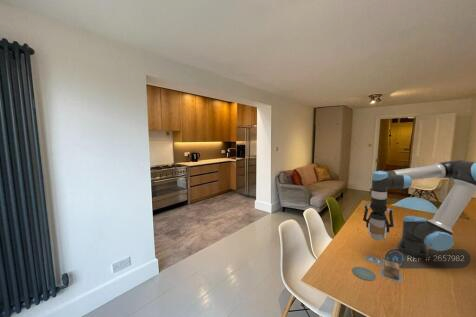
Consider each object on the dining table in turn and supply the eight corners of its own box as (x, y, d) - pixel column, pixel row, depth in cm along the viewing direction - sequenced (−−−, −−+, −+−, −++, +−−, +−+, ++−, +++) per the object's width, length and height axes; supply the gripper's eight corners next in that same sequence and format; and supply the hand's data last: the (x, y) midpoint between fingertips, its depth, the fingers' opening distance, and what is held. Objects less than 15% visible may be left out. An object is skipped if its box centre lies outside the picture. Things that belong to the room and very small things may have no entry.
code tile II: (402, 275, 110) (402, 274, 110) (400, 283, 103) (400, 283, 103) (382, 267, 116) (382, 267, 116) (379, 275, 109) (379, 275, 109)
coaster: (377, 273, 111) (377, 272, 111) (373, 284, 103) (373, 283, 103) (354, 265, 118) (355, 264, 118) (349, 274, 110) (349, 273, 110)
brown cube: (397, 273, 110) (398, 263, 110) (398, 280, 105) (399, 269, 105) (383, 269, 113) (384, 259, 113) (384, 276, 109) (385, 265, 108)
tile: (385, 260, 123) (385, 259, 123) (382, 267, 116) (382, 266, 116) (367, 254, 129) (367, 254, 129) (364, 260, 123) (364, 260, 123)
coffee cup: (365, 235, 125) (366, 211, 124) (378, 234, 126) (379, 211, 124) (375, 242, 117) (376, 216, 115) (389, 241, 118) (390, 216, 116)
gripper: (401, 199, 115) (399, 238, 117) (360, 193, 129) (359, 228, 131) (400, 202, 109) (398, 243, 111) (357, 196, 123) (356, 232, 125)
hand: (377, 234), depth 121 cm, fingers closed on coffee cup, 7 cm apart
